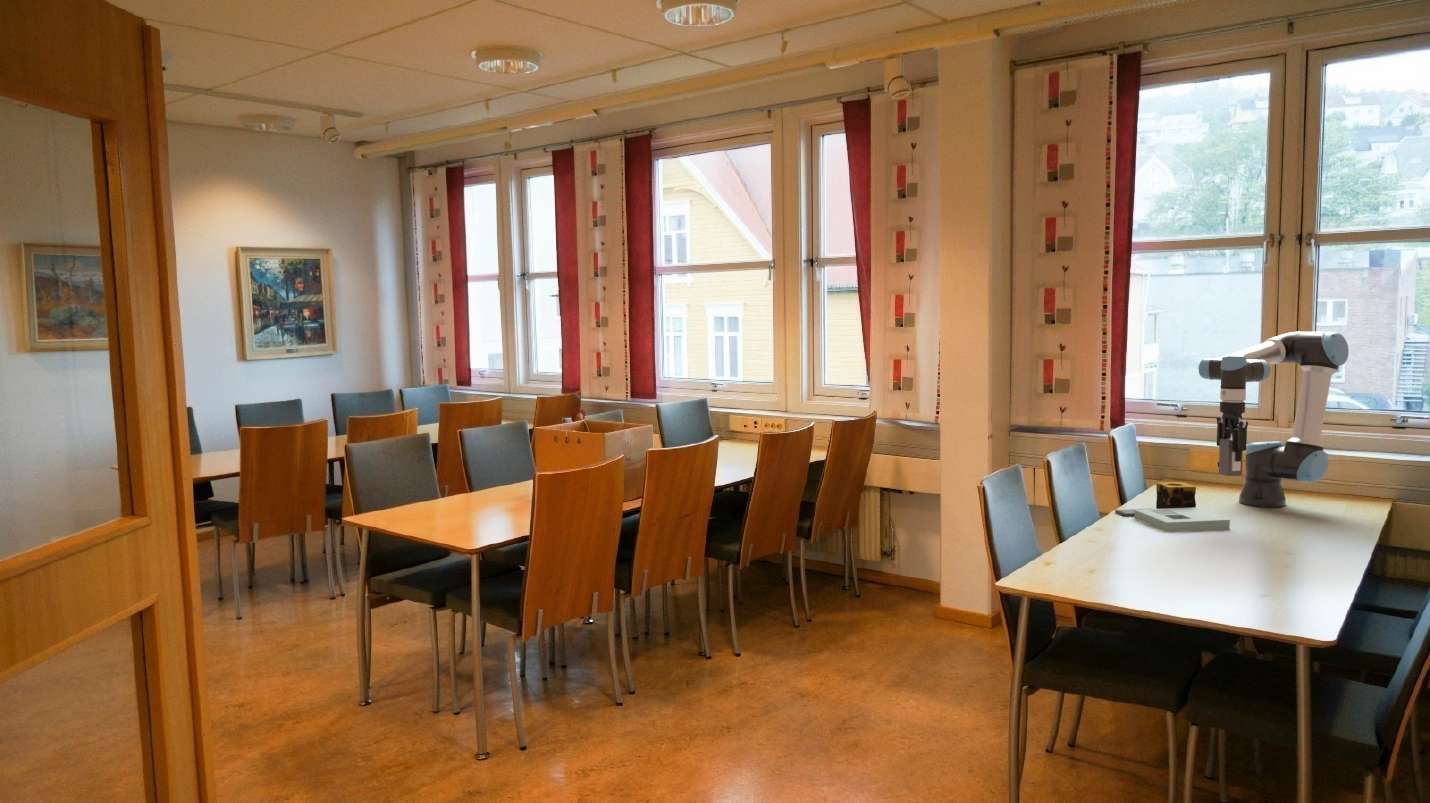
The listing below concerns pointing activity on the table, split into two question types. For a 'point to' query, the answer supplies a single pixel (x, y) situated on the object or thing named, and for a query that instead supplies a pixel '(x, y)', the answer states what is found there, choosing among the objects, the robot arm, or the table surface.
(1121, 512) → the phone
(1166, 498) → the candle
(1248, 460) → the robot arm
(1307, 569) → the table surface
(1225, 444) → the grey rectangular block
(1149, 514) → the outlet board
